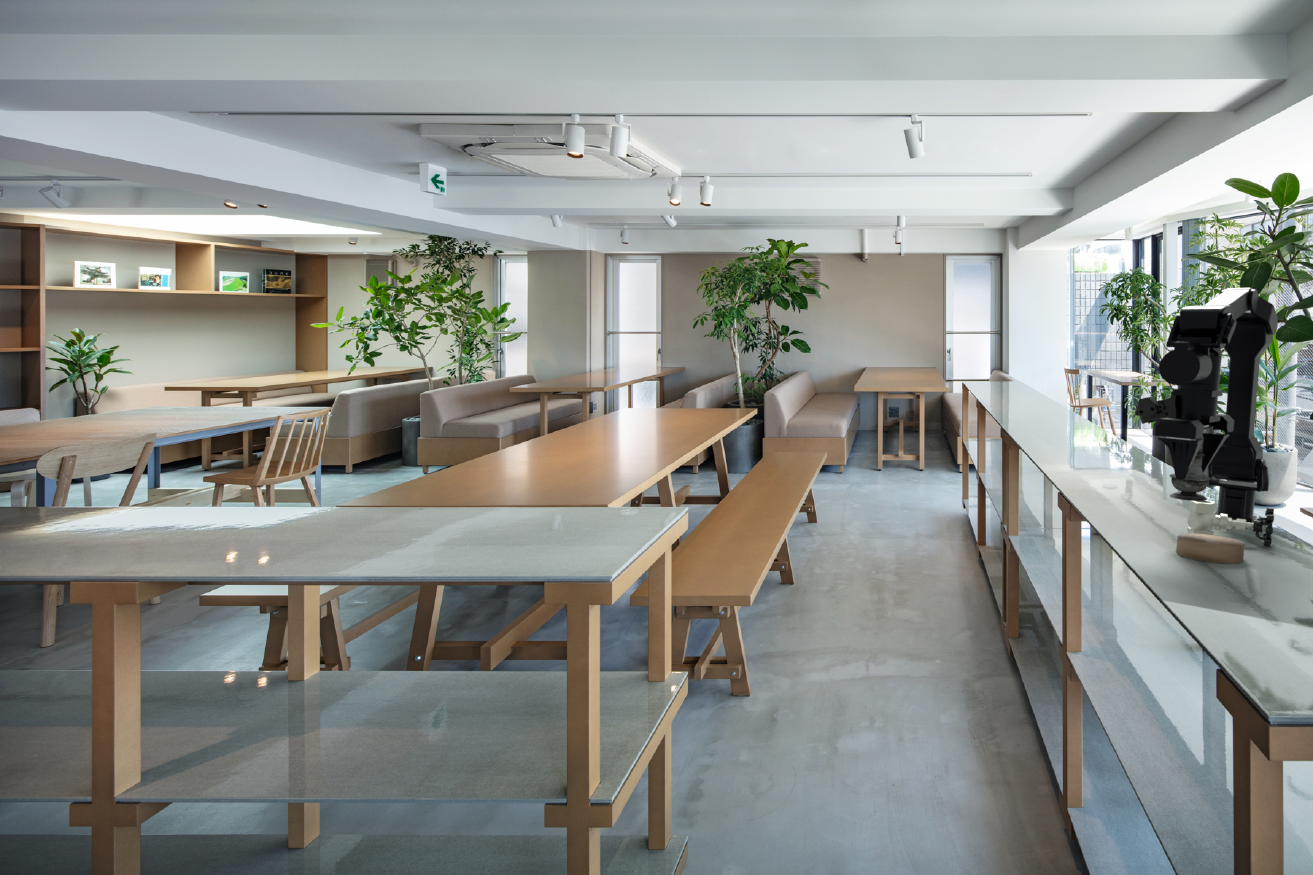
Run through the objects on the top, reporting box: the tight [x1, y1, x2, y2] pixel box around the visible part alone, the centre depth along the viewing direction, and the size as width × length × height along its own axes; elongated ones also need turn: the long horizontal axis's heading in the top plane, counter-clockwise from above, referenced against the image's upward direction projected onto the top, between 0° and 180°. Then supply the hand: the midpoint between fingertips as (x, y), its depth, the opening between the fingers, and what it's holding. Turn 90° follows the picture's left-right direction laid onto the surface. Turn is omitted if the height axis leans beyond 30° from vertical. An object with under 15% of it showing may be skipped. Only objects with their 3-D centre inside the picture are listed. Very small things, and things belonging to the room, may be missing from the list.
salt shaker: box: [1169, 436, 1211, 502], centre depth 139 cm, size 6×6×12 cm
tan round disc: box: [1175, 533, 1245, 565], centre depth 134 cm, size 9×9×2 cm
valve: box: [1186, 499, 1275, 548], centre depth 143 cm, size 7×7×12 cm
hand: (1189, 476), depth 140 cm, fingers closed on salt shaker, 8 cm apart
